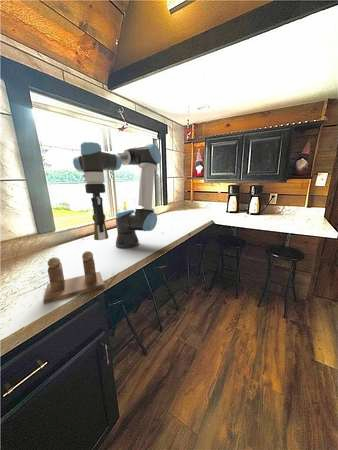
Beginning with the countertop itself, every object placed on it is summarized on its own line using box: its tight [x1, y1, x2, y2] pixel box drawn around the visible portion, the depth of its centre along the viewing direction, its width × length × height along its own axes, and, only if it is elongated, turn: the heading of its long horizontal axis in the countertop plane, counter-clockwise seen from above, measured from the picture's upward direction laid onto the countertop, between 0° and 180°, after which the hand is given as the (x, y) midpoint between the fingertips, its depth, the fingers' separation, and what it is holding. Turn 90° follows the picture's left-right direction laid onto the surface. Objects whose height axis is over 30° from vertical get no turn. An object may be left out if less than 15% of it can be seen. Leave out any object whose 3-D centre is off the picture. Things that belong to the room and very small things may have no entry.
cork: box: [92, 213, 109, 241], centre depth 78 cm, size 6×6×11 cm
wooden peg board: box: [43, 250, 105, 304], centre depth 71 cm, size 20×12×14 cm, turn 118°
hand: (101, 237), depth 79 cm, fingers closed on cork, 6 cm apart
